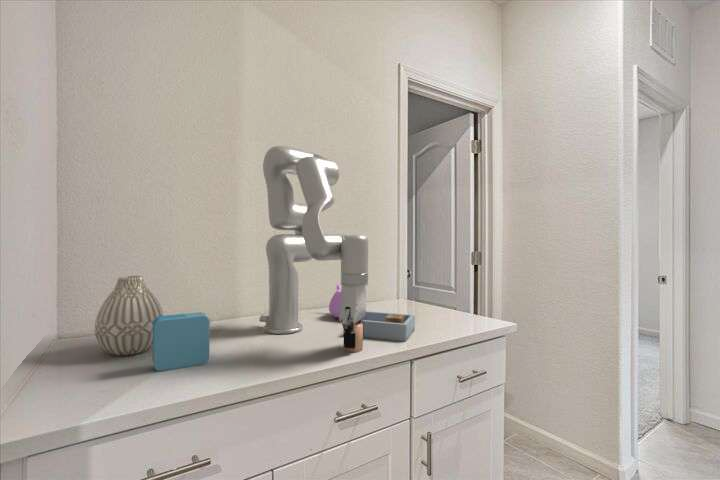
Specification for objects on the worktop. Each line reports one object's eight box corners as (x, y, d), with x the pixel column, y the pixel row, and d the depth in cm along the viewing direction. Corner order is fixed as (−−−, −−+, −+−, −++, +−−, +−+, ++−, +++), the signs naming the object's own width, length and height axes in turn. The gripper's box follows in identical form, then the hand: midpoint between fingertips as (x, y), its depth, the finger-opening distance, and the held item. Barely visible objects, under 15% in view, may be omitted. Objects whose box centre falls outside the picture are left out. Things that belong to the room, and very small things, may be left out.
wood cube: (385, 333, 120) (385, 317, 120) (389, 329, 125) (389, 314, 125) (400, 334, 118) (400, 318, 118) (404, 330, 123) (404, 315, 123)
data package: (206, 358, 96) (206, 311, 96) (209, 363, 92) (209, 314, 92) (152, 366, 90) (152, 316, 90) (154, 372, 86) (154, 320, 86)
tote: (348, 335, 119) (348, 319, 119) (362, 325, 132) (362, 310, 132) (406, 341, 113) (406, 324, 113) (414, 329, 127) (415, 315, 127)
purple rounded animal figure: (320, 313, 151) (320, 283, 151) (352, 310, 157) (353, 281, 157) (339, 324, 133) (339, 290, 133) (374, 321, 139) (375, 288, 139)
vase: (91, 348, 103) (91, 275, 102) (157, 338, 113) (156, 272, 112) (98, 365, 90) (97, 282, 90) (170, 352, 101) (170, 277, 100)
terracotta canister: (342, 351, 103) (342, 325, 103) (348, 346, 108) (348, 321, 108) (359, 353, 102) (359, 327, 101) (364, 347, 106) (365, 323, 106)
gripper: (352, 275, 114) (351, 335, 114) (329, 282, 97) (328, 352, 98) (376, 276, 111) (375, 337, 112) (357, 284, 95) (356, 355, 95)
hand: (353, 343), depth 105 cm, fingers open, 6 cm apart
